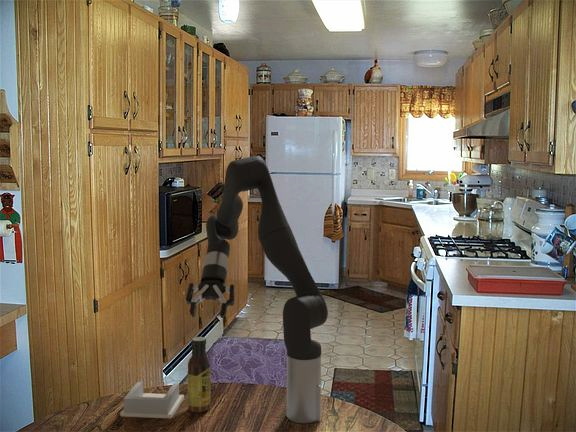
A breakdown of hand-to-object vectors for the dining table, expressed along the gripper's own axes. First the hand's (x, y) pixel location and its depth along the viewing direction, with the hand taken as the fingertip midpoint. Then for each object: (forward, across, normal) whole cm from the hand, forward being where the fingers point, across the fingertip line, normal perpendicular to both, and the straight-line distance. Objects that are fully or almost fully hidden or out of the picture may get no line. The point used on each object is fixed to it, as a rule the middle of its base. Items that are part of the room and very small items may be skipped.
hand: (207, 316), depth 171 cm
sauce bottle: (+25, 0, +8) cm, 26 cm away
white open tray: (+24, -13, +8) cm, 29 cm away
